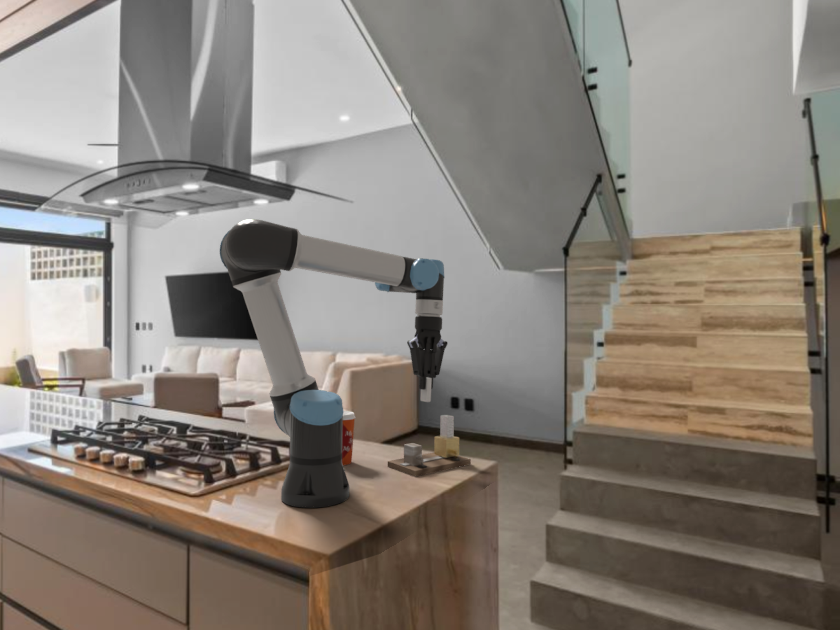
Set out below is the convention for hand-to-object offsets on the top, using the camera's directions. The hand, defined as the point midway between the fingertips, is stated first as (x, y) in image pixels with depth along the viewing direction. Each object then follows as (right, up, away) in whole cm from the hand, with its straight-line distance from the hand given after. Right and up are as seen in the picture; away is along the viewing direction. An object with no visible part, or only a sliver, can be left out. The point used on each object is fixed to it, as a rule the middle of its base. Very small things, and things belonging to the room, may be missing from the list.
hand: (425, 401), depth 151 cm
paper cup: (-24, -18, +3) cm, 30 cm away
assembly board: (+1, -18, +1) cm, 18 cm away
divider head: (+7, -16, +4) cm, 18 cm away
